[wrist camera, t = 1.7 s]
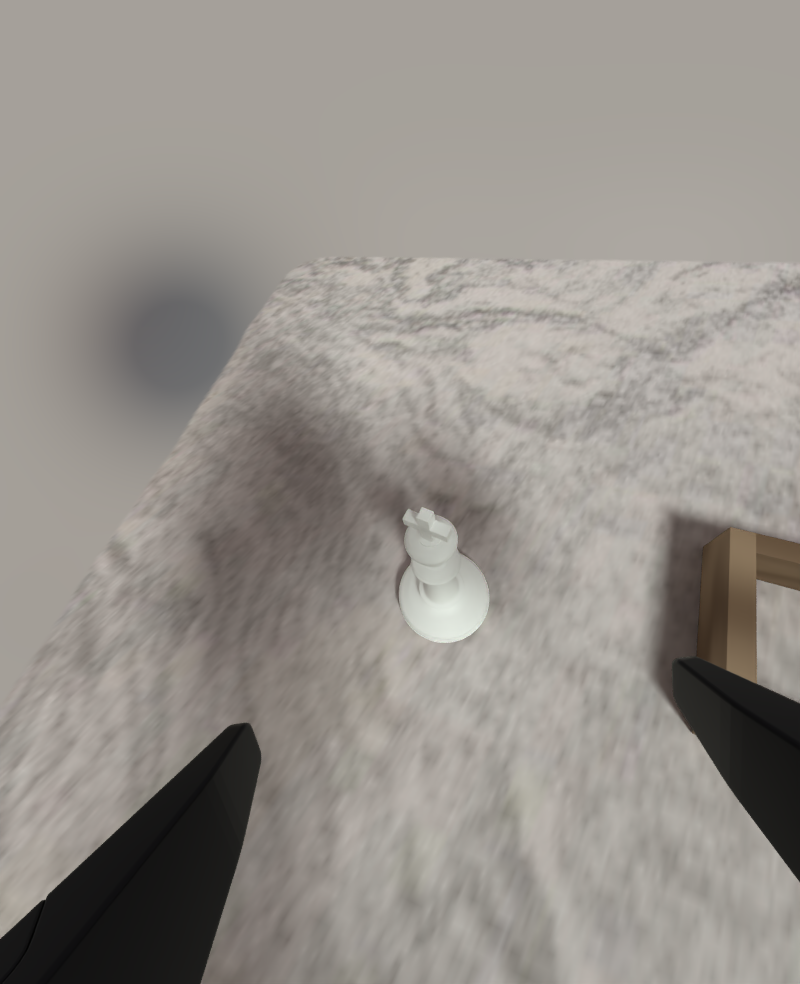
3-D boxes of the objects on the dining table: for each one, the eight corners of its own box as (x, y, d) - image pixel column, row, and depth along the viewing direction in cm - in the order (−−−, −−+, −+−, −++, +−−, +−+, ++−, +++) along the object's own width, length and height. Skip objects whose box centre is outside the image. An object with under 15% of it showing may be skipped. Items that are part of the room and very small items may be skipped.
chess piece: (423, 539, 23) (395, 436, 14) (503, 574, 21) (525, 480, 13) (383, 616, 21) (324, 548, 13) (467, 660, 19) (464, 618, 11)
